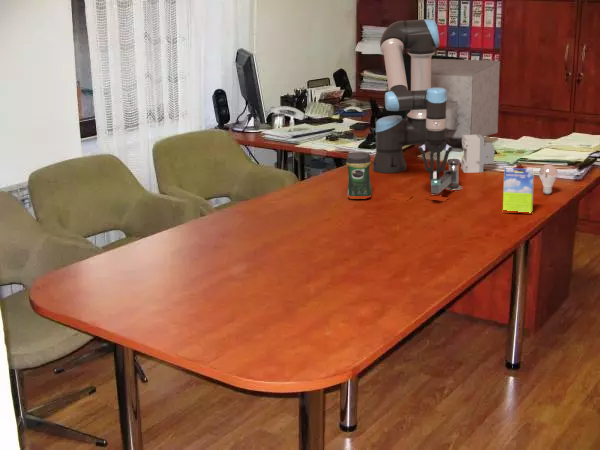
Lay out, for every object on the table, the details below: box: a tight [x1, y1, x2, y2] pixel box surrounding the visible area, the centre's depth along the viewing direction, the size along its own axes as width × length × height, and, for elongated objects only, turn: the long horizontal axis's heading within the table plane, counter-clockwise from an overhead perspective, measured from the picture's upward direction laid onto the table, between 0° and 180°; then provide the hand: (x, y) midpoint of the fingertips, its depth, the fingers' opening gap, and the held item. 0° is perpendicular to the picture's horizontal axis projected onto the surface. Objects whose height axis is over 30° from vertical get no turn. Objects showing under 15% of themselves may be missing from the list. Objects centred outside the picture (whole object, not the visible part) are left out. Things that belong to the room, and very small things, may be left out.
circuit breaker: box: [460, 134, 498, 174], centre depth 358 cm, size 8×14×15 cm, turn 89°
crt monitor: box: [431, 58, 501, 153], centre depth 397 cm, size 35×37×40 cm
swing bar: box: [430, 169, 457, 195], centre depth 320 cm, size 22×5×6 cm, turn 153°
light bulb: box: [538, 164, 559, 196], centre depth 319 cm, size 7×7×12 cm
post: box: [444, 158, 463, 190], centre depth 332 cm, size 7×7×12 cm
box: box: [502, 167, 535, 213], centre depth 298 cm, size 10×4×17 cm, turn 72°
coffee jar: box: [346, 151, 373, 196], centre depth 325 cm, size 10×8×19 cm
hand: (434, 188), depth 324 cm, fingers closed
